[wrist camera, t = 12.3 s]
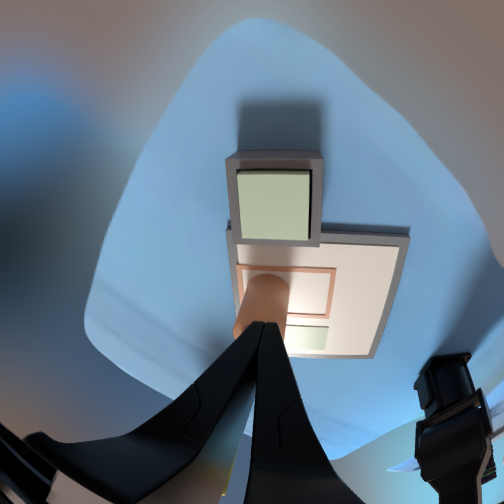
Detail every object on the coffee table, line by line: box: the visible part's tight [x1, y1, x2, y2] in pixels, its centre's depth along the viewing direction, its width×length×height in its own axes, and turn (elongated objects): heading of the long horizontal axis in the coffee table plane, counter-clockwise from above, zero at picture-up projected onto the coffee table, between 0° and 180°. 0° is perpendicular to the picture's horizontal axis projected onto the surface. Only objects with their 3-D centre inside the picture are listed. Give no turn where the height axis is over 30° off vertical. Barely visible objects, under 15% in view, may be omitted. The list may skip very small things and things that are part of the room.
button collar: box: [225, 150, 323, 248], centre depth 17 cm, size 6×6×3 cm
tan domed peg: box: [233, 274, 290, 341], centre depth 20 cm, size 4×4×6 cm
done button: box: [237, 168, 309, 241], centre depth 17 cm, size 4×4×4 cm
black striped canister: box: [481, 438, 497, 485], centre depth 35 cm, size 10×10×15 cm
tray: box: [226, 227, 410, 359], centre depth 23 cm, size 14×14×1 cm
